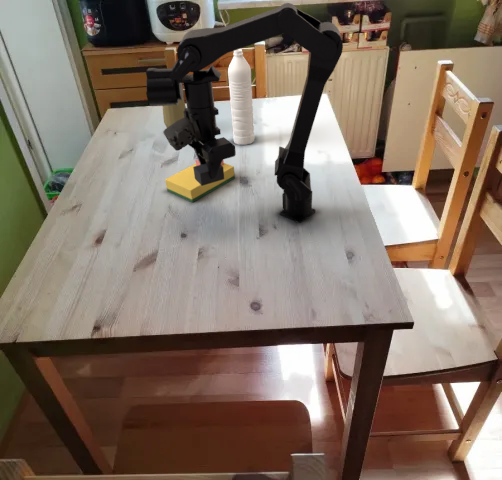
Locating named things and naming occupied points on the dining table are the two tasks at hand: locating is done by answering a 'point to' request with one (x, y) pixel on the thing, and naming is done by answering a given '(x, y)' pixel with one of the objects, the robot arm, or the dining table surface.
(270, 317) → the dining table surface
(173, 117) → the squeeze bottle
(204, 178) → the grey eraser
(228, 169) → the sponge
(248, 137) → the water bottle
